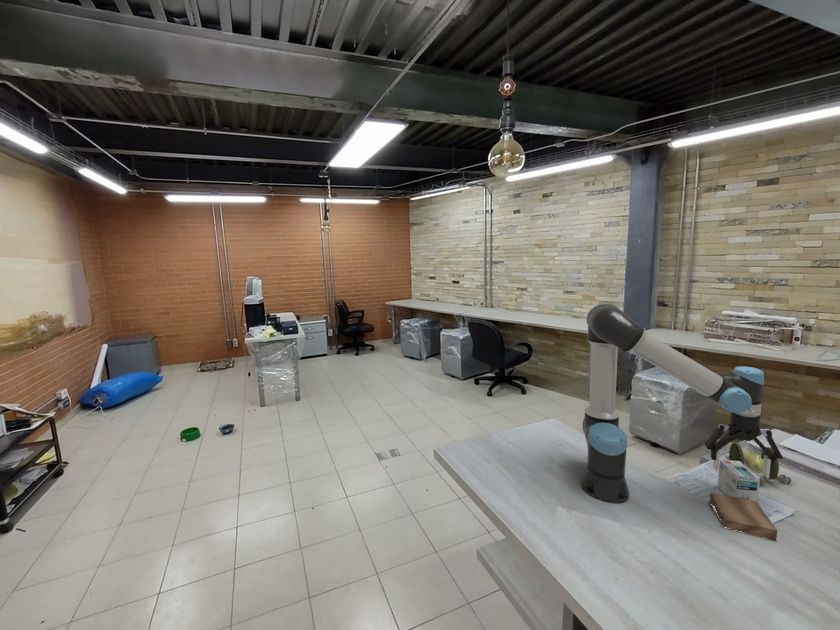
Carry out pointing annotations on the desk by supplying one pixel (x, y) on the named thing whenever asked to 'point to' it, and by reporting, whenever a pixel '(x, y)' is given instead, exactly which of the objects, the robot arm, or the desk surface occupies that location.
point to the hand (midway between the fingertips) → (740, 472)
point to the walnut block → (743, 516)
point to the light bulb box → (738, 480)
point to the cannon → (751, 459)
